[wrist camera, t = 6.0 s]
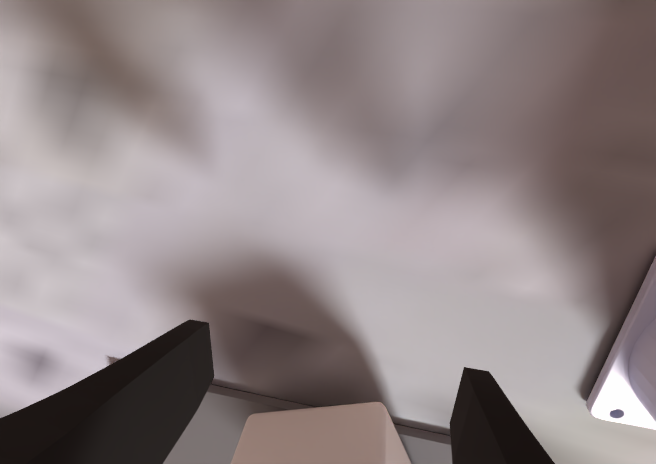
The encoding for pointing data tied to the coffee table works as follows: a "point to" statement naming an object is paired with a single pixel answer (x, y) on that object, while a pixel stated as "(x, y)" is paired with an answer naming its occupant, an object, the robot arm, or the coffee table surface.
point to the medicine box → (322, 437)
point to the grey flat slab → (236, 406)
